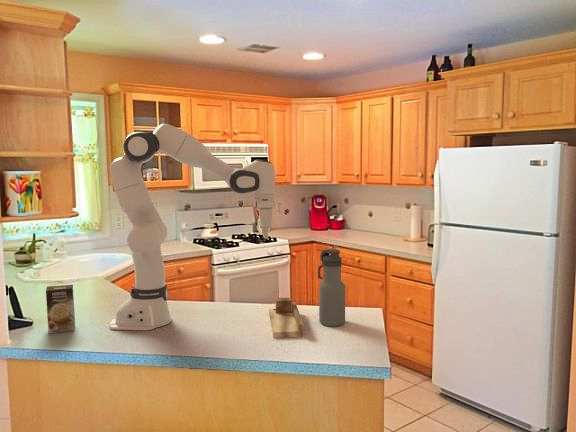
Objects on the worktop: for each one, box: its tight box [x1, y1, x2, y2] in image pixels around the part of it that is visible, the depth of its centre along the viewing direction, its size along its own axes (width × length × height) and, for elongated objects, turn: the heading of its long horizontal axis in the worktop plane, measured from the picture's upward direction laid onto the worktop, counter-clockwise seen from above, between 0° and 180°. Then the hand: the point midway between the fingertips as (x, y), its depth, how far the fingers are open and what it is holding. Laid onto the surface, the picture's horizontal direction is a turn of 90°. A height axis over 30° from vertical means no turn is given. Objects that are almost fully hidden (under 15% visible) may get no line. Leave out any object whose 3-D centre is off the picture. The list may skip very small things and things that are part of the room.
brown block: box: [272, 297, 293, 314], centre depth 194 cm, size 7×4×5 cm, turn 95°
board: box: [268, 301, 304, 339], centre depth 186 cm, size 11×26×4 cm, turn 5°
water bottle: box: [317, 248, 346, 327], centre depth 186 cm, size 10×10×28 cm
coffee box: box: [45, 284, 76, 334], centre depth 183 cm, size 9×6×16 cm
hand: (265, 236), depth 196 cm, fingers open, 8 cm apart
